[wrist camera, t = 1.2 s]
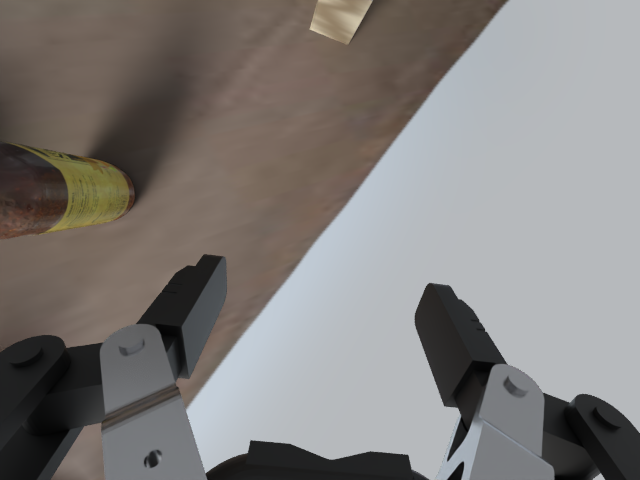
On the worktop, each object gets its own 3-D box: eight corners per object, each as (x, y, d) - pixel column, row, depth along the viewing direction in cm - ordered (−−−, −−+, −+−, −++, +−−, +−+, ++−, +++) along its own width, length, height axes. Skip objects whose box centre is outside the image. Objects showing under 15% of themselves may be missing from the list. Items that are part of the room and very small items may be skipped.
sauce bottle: (124, 154, 29) (-143, 70, 10) (147, 212, 30) (-50, 238, 11) (55, 171, 28) (-386, 114, 9) (82, 230, 30) (-254, 292, 10)
